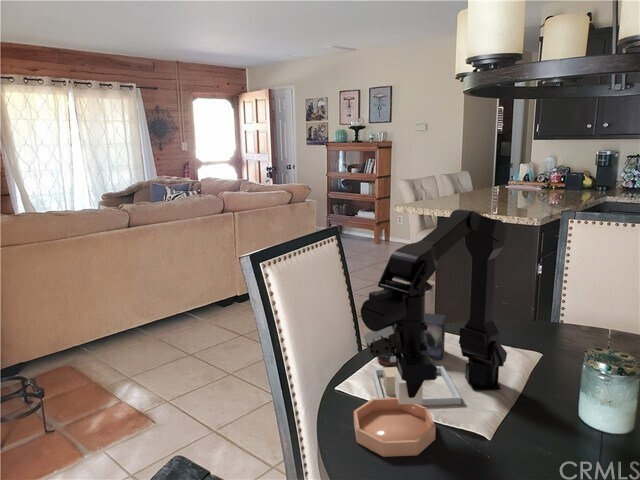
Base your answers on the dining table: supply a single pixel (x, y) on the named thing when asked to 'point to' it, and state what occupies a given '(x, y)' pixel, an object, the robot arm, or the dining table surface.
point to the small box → (434, 336)
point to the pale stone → (403, 394)
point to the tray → (426, 400)
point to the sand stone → (389, 379)
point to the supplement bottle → (388, 359)
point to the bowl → (393, 427)
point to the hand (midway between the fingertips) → (408, 390)
